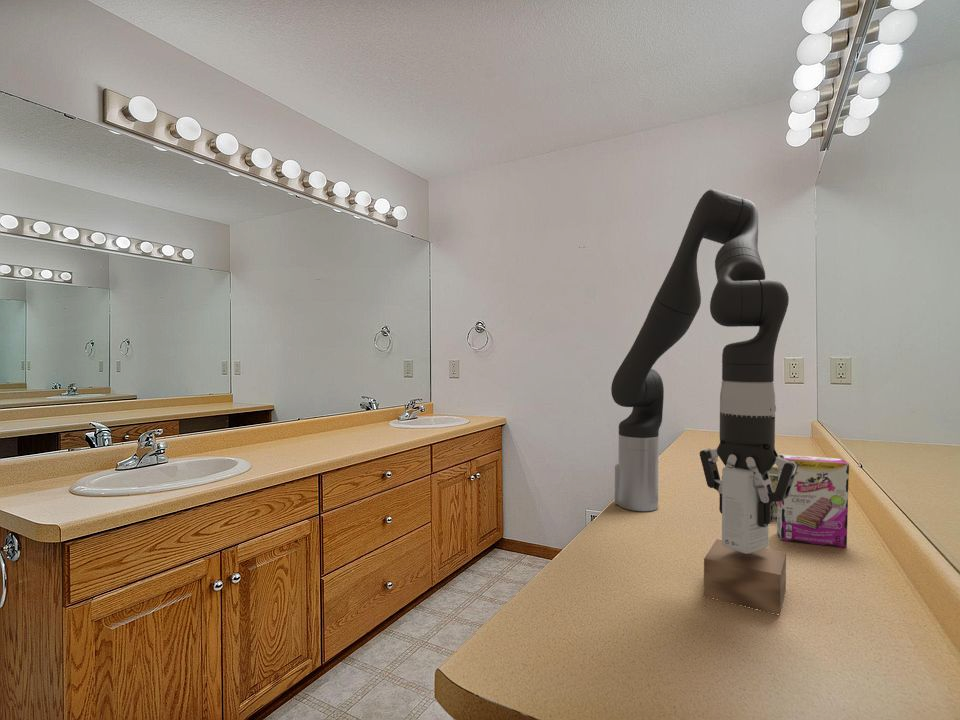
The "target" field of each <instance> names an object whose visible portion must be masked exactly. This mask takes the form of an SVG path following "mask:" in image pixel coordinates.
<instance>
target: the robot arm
mask: <svg viewBox="0 0 960 720" xmlns="http://www.w3.org/2000/svg"><path fill="white" fill-rule="evenodd" d="M758 213H759V212H758V209H757V205H756V204H755V203H754V202H753V201H751V200H749V199H746V198H743V197H740V196H737V195H734V194H730V193H727V192H725V191H721V190H717V189H712V188H711V189H708V190H706V192H705V193H703V194H702V196H701V197H700V199H699V200H698V202H697V204H696V206H695V207H694V209H693V213H692V214H691V217H690V219H689V222H688V224H687V227H686V230H685V232H684V235H683V236H682V239H681V242H680V245H679V247H678V250H677V252H676V255H675V257H674V258H673V261H672V263H671V265H670V268H669V270H668V272H667V274H666V276H665V278H664V280H663V282H662V284H661V286H660V288H659V290H658V292H657V294H656V296H655V297H654V299H653V302H652V304H651V305H650V309H649V310H648V313H647V316H646V318H645V320H644V322H643V324H642V326H641V328H640V330H639V332H638V334H637V336H636V338H635V340H634V342H633V344H632V346H631V347H630V348H629V351H628V353H627V355H626V356H625V358H624V359H623V360H622V362H621V364H620V366H619V367H618V369H617V371H616V372H615V375H614V377H613V379H612V383H611V387H610V391H611V393H610V394H611V397H612V400H613V402H615V403H616V404H617V405H618V406H620V407H624V408H632V411H631V413H630V414H629V416H628V417H626V418H625V419H623V420H622V421H620V422H619V423H618V464H615V465H614V505H616V506H617V505H618V506H619V507H621V508H623V509H625V510H629V511H636V512H652V511H656V510H657V509H659V453H660V452H659V444H660V442H659V437H660V435H659V431H660V428H661V426H662V422H663V416H664V415H663V412H664V411H663V410H664V397H665V395H664V394H665V393H664V389H665V388H664V382H663V379H662V377H661V374H660V373H659V372H658V371H657V370H655V369H653V366H654V365H655V363H656V362H657V361H658V360H659V359H660V358H661V357H662V356H663V355H664V354H666V352H667V351H668V350H670V349H671V348H672V347H673V346H674V345H676V343H677V342H679V340H681V339H682V338H683V337H684V336H685V334H686V333H687V332H688V330H689V329H690V327H691V325H692V324H693V322H694V319H695V318H696V316H697V313H698V312H699V309H700V307H701V303H702V294H701V293H702V292H701V286H700V281H699V280H700V279H699V276H698V275H699V274H698V261H697V260H698V253H699V248H700V245H701V243H702V241H703V239H705V240H709V241H712V242H715V243H717V244H721V245H722V246H721V247H720V248H719V249H718V251H717V253H716V256H715V260H714V270H715V275H716V279H717V280H716V281H717V283H716V285H715V286H714V289H713V291H712V293H711V297H710V302H709V312H710V315H711V317H712V318H711V319H713V320H714V322H715V323H717V324H718V325H720V326H723V327H727V328H729V327H730V328H737V327H758V332H757V334H756V335H755V336H754V337H752V338H750V339H747V340H743V341H737V342H732V343H729V344H726V345H725V346H723V349H722V352H721V353H722V354H721V364H722V366H721V380H722V381H721V388H720V394H719V443H718V445H717V448H713V449H712V448H706V449H702V450H700V451H699V458H700V462H701V466H702V469H703V474H704V477H705V482H706V485H707V487H708V488H710V489H714V490H716V491H717V492H718V493H719V494H718V495H719V506H718V507H719V512H720V514H721V515H722V479H721V477H720V473H719V470H718V464H717V462H718V460H719V459H720V460H721V462H722V463H723V465H724V466H725V467H729V468H741V469H747V470H750V471H751V472H753V482H754V485H755V487H756V488H757V490H758V493H759V496H760V499H761V502H759V526H760V527H764V528H765V527H766V526H768V527H769V525H770V524H772V523H773V520H774V517H773V503H774V501H782V500H783V499H786V498H787V497H788V495H789V492H790V489H791V486H792V483H793V480H794V477H795V475H796V472H797V469H798V463H797V462H796V461H788V460H785V459H783V458H780V457H779V454H778V453H777V450H776V449H775V448H776V447H775V443H776V442H775V441H776V440H775V439H776V436H775V435H776V413H777V412H776V411H777V404H776V393H775V386H774V385H775V384H774V382H775V381H774V380H775V379H774V374H775V373H774V372H775V371H774V370H775V367H774V366H775V365H774V363H775V351H776V346H777V341H778V339H779V338H778V337H779V333H780V330H781V327H782V325H783V322H784V319H785V316H786V315H787V311H788V306H789V292H788V291H787V288H786V286H785V285H784V284H783V283H782V282H780V281H779V280H776V279H766V270H765V267H764V265H763V261H762V259H761V256H760V253H759V250H758V249H759V248H758V247H759V246H758V245H759V241H758V238H759V214H758ZM775 465H776V467H778V469H777V470H778V472H779V473H780V474H781V475H780V478H779V481H778V484H777V487H776V490H775V492H773V489H772V486H771V478H770V475H769V472H768V471H769V470H770V468H771V467H772V466H775ZM764 475H765V476H764ZM762 476H763V479H762Z"/></svg>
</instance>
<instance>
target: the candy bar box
mask: <svg viewBox="0 0 960 720" xmlns="http://www.w3.org/2000/svg"><path fill="white" fill-rule="evenodd" d="M778 457H780V458H783V459H785V460H788V461H796V462H797V463H798V469H797V472H796V475H795V477H794V480H793V483H792V486H791V489H790V492H789V495H788V497H787V498H786V499H783V500H782V501H778V503H777V518H776V533H777V535H778V536H779V538H780V540H781V541H787V542H796V543H803V544H804V543H805V544H813V545H820V546H830V547H841V548H847V546H848V513H849V481H850V480H849V477H850V463H849V462H847V461H845V460H844V459H842V458H836V457H835V458H834V457H826V456H825V457H822V456H808V455H807V456H806V455H796V454H795V455H793V454H778ZM780 475H781V474H780V473H779V472H778V481H779V478H780Z"/></svg>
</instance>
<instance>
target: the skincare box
mask: <svg viewBox="0 0 960 720" xmlns="http://www.w3.org/2000/svg"><path fill="white" fill-rule="evenodd" d="M721 470H722V471H721V481H722V514H721V520H722V521H721V540H722V545H723V546H725V547H727V548H730V549H733V550H736V551H739V552H742V553H745V554H749V553H752V552H755V551H758V550H761V549H764V548H765V549H767V548H768V546H769V525H768V526H766V527H765V528H764V527H760V526H759V502H761V499H760V496H759V493H758V490H757V488H756V487H755V485H754V482H753V472H751V471H750V470H747V469H741V468H729V467H726V466H725V467H722V468H721ZM764 476H765V475H764ZM762 479H763V476H762Z"/></svg>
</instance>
